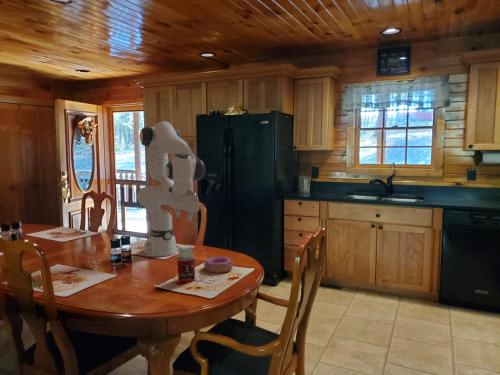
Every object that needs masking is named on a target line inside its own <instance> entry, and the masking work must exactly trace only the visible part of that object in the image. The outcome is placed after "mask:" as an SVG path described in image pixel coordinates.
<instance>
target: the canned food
mask: <svg viewBox="0 0 500 375" xmlns="http://www.w3.org/2000/svg"><path fill="white" fill-rule="evenodd" d="M195 268H196V265H195V255H193V257H190V258H186V259H183V258H180V257H179V255H178V256H177V280H178V282H179V281H180V282H179V283H181V282H183V283H182V284H188V283H187V282H189V283H192V282H194V281H195V279H196V270H195Z"/></svg>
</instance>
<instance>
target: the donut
mask: <svg viewBox="0 0 500 375" xmlns="http://www.w3.org/2000/svg"><path fill="white" fill-rule="evenodd" d="M203 265H204V269H205V270H206V271H207V272H208V273H211V274H212V273H213V274H222V273H227V272H230V271H231V270H232V269H233V266H234V262H233V259H232V258H231V257H228V256H224V255H221V256H219V255H217V256H211V257H208V258H206V259H205V260H204V263H203Z"/></svg>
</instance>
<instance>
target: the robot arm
mask: <svg viewBox="0 0 500 375" xmlns="http://www.w3.org/2000/svg"><path fill="white" fill-rule="evenodd" d="M139 141H140V144H141V145H143V147H144V146H145V147H148V171H149V176H150V177H151V178H152V179H154V180H156V181H159V182H160V185H148V186H144V187H141V188H140V189H138V191H137V196H136V198H137V201H138V203H139V204H140V205H141V206H143V207H144V208H146V209H147V211H148V212H149V215H150V218H151V229H150V232H151V233H150V236H149V237H148V238H147V240H145V242H144V247H143V248H141V251H142V253H144V254H145V255H146V256H147V257H167V256H171V255H174V254H176V253H177V251H178V247H177V242H176V236H175V235H174V228H173V216H172V214H171V213H170V212H169V211H167V210H165V209H162V208H161V206H163V205H164V206H165V205H169V207H171V208H174V213H175V215H176V218H177V219H181V218H182V214H181V211H185V212H187V213H188V216H187V221H188V222H193V220H194V219H193V218H194V214H195V213H198V212H199V211H200V201H199V197H198V195H197V193H196V191H194V181H200V180H202V178H203V177H204V176H205V175H206V164H205V163H204V161H202V160H201V159H200V158H199V156H198V155H197V153H196V152H195V151H194V149H193V148H192V147H191V145H190V144H189V142H187V141H186V140H183V138H181V134H180V130H179V129H178V128H176V127H174V126H173V125H172V123H170V122H168V121H165V120H162V121H159V122H157V124H155V126H146V127H142V128H141V129H140V132H139ZM168 154H170V155H171V154H172V155H173V154H174V155H173V159H172V160H169V155H168Z"/></svg>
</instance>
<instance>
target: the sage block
mask: <svg viewBox="0 0 500 375" xmlns="http://www.w3.org/2000/svg"><path fill="white" fill-rule="evenodd" d="M177 248H178V250H177V251H178V256H179V257H180V258H183V259H186V258H190V257H193V256H194V254H193V253H194V251H193V250H194V249H193V246H190V245H187V244H186V245H182V246H178V247H177Z"/></svg>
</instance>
